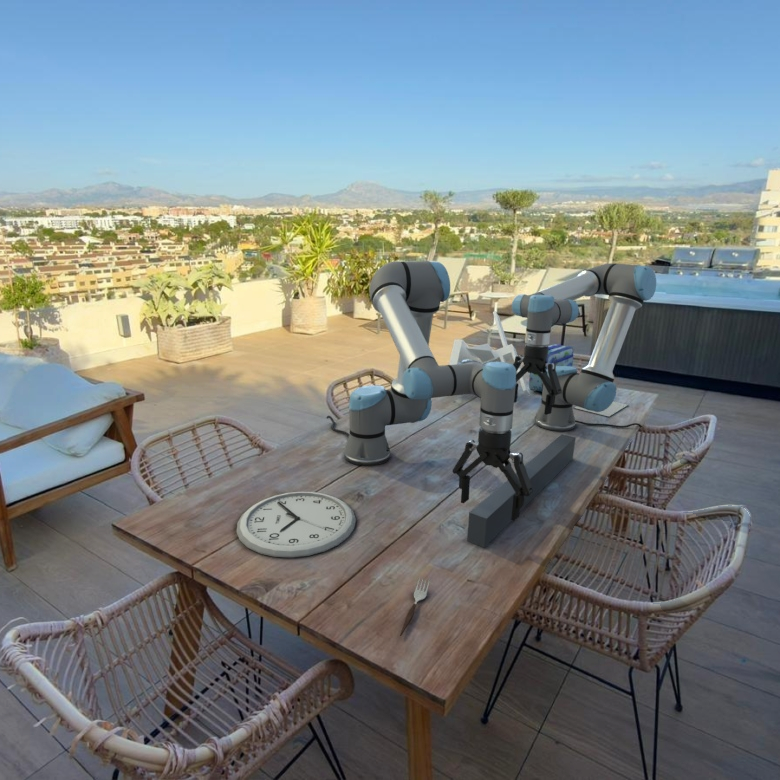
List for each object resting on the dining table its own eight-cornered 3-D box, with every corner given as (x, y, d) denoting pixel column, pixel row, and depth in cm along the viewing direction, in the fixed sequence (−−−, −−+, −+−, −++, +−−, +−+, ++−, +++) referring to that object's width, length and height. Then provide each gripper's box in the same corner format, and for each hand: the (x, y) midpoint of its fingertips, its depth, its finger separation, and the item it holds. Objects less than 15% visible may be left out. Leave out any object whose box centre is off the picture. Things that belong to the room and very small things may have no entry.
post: (558, 455, 177) (561, 433, 174) (572, 459, 174) (575, 437, 172) (467, 540, 128) (469, 512, 125) (484, 547, 125) (486, 518, 123)
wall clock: (357, 549, 121) (224, 553, 118) (357, 555, 121) (224, 559, 118) (354, 487, 149) (247, 489, 147) (354, 492, 150) (247, 495, 147)
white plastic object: (461, 429, 252) (437, 405, 227) (444, 352, 274) (420, 323, 250) (535, 404, 240) (518, 377, 215) (510, 326, 262) (492, 293, 237)
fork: (393, 636, 97) (393, 627, 97) (418, 584, 112) (419, 576, 111) (406, 640, 96) (407, 631, 96) (430, 587, 111) (430, 579, 110)
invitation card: (608, 416, 214) (573, 407, 224) (608, 416, 214) (573, 408, 224) (628, 404, 229) (594, 396, 238) (628, 405, 229) (594, 397, 238)
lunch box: (545, 397, 238) (550, 352, 231) (524, 391, 245) (529, 348, 239) (572, 386, 255) (578, 344, 249) (552, 381, 262) (557, 340, 256)
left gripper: (441, 421, 127) (437, 499, 133) (540, 446, 112) (531, 533, 118) (456, 413, 132) (452, 489, 138) (553, 436, 118) (544, 519, 124)
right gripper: (498, 339, 172) (492, 400, 179) (564, 353, 154) (556, 421, 160) (512, 336, 177) (506, 396, 183) (578, 350, 159) (570, 416, 165)
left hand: (489, 509), depth 128 cm, fingers open, 13 cm apart
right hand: (530, 408), depth 172 cm, fingers open, 13 cm apart
